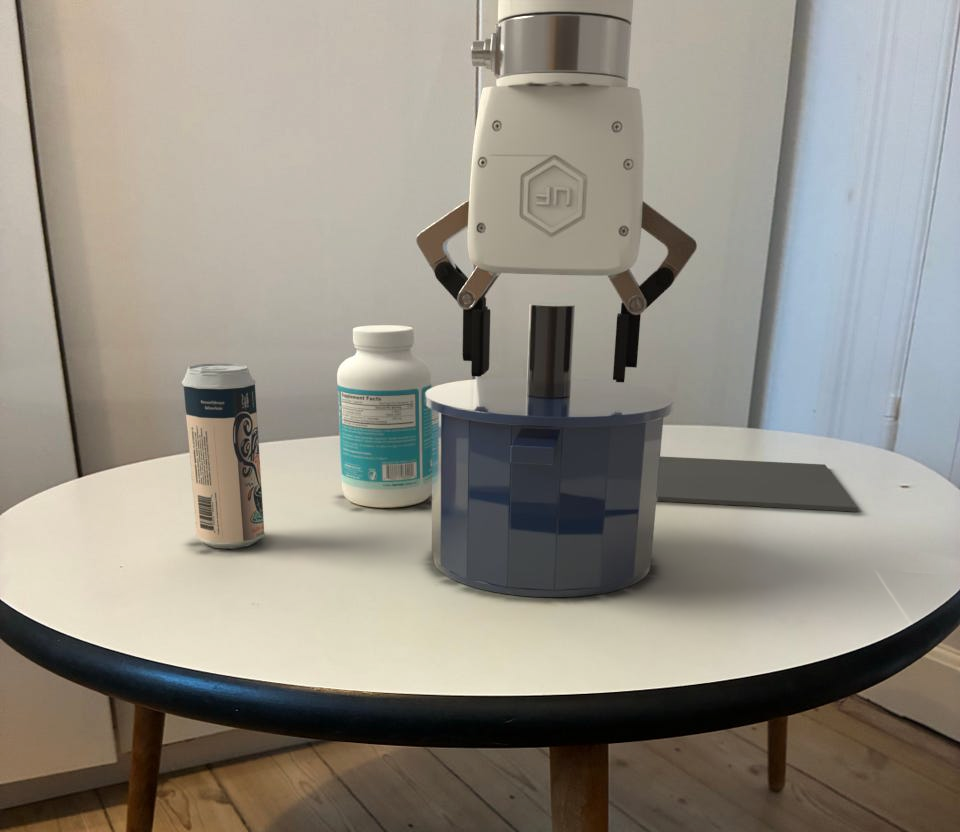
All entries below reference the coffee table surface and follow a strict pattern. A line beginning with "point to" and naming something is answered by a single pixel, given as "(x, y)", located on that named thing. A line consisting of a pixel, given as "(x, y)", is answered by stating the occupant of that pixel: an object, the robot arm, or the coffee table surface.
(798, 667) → the coffee table surface
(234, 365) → the beer can
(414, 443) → the pill bottle
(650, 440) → the pot
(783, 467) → the trivet
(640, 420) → the lid
